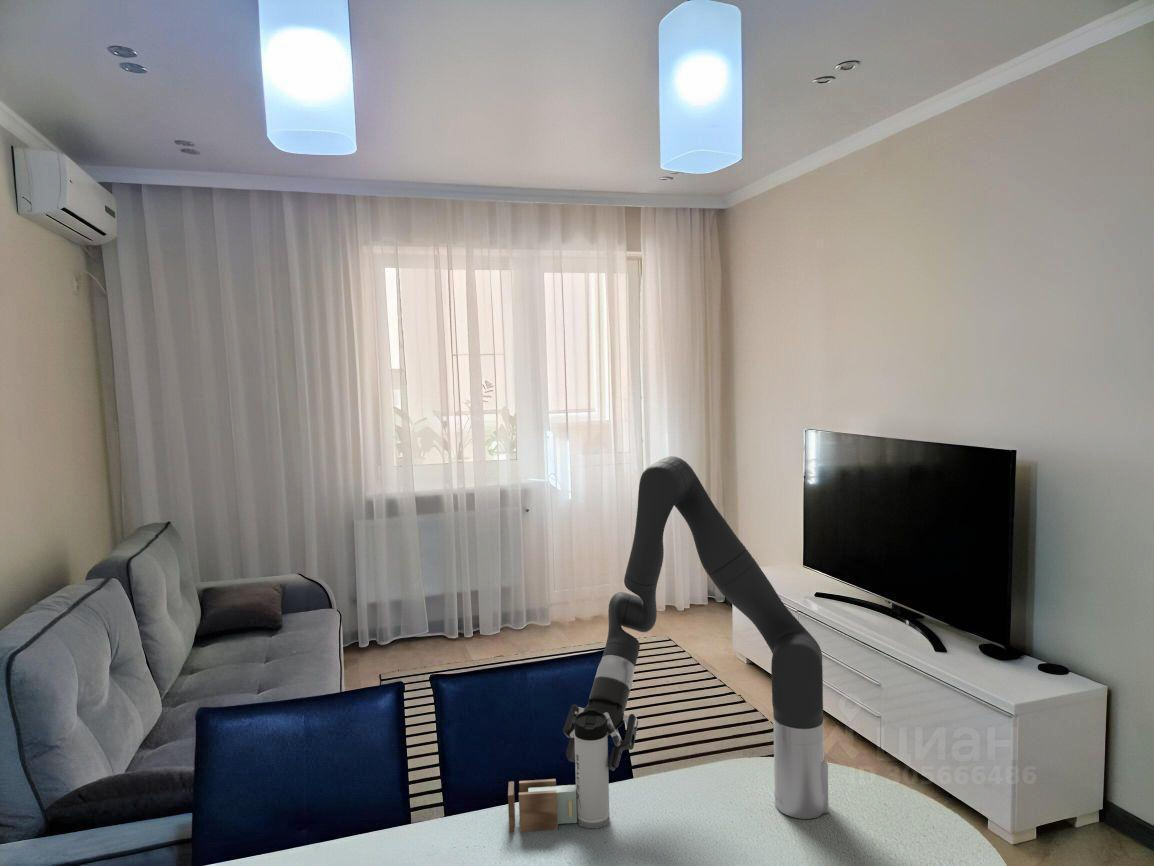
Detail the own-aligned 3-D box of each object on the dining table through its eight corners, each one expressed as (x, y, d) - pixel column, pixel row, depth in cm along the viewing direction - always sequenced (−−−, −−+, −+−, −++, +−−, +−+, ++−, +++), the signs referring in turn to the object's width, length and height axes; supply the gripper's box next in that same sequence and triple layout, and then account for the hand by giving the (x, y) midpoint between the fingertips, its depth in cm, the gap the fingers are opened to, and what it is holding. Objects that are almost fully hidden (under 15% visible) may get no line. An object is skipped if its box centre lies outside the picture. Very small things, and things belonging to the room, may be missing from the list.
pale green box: (576, 815, 140) (575, 784, 140) (577, 824, 137) (576, 793, 137) (529, 818, 140) (528, 787, 139) (529, 827, 137) (528, 795, 136)
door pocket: (556, 814, 141) (555, 778, 141) (557, 829, 136) (556, 792, 136) (509, 817, 141) (508, 781, 140) (509, 832, 136) (507, 795, 135)
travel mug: (610, 810, 142) (608, 708, 141) (608, 829, 136) (605, 723, 135) (578, 809, 143) (576, 708, 142) (574, 828, 136) (572, 722, 136)
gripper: (575, 670, 149) (550, 750, 139) (640, 680, 143) (619, 764, 133) (586, 687, 154) (563, 765, 144) (650, 697, 148) (630, 779, 138)
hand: (590, 764), depth 139 cm, fingers open, 8 cm apart
